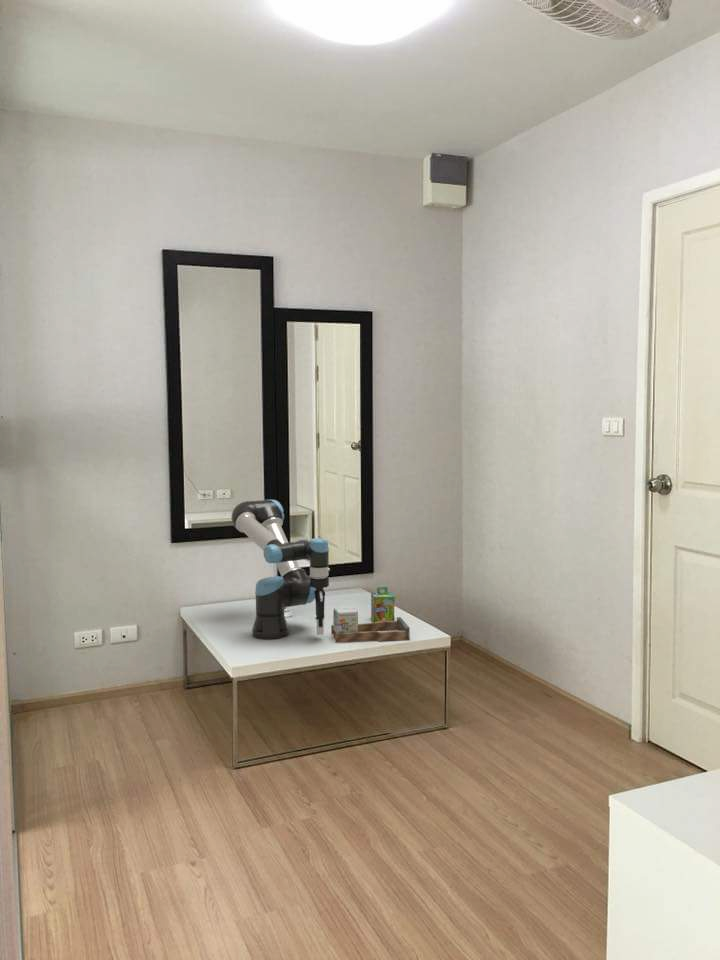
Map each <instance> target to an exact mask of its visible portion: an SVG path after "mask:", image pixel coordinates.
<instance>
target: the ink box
mask: <svg viewBox="0 0 720 960" xmlns="http://www.w3.org/2000/svg"><path fill="white" fill-rule="evenodd" d="M332 616H333V617H332V618H333V620H332V621H333V622H332V623H333V624H332V625H333V634H332V635H333V637H334V638H335V633H349V632H358V624H359V612H358V609H356V608H355V607H353V606H343V607H333V615H332Z"/></svg>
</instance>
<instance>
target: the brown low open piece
mask: <svg viewBox="0 0 720 960" xmlns="http://www.w3.org/2000/svg"><path fill="white" fill-rule="evenodd" d="M330 627H331V628H330V629H331V633H332V634H331V633H330V634H331V635H333V624H332V625H330ZM410 629H411V628H410V627H409V625H408V624H407V622H405V621H404V620H403V618H402V617H401V616H399V617H396V620H394V621H384V622H373V621H371V622H370V623H368V622H367V623H358V632H349V633H335V637H334V639H335V640H334V641H335V643H336V642H339V643H338V644H340V642H342V643H357V642H374V641H375V642H376V641H378V642H394V641H395V642H396V641H409V640H411V639H410V638H411V637H410V636H411V635H410V634H411V633H410Z"/></svg>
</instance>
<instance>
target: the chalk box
mask: <svg viewBox="0 0 720 960" xmlns="http://www.w3.org/2000/svg"><path fill="white" fill-rule="evenodd" d="M381 590H384V592H381ZM370 596H371V597H370V598H371V599H370V600H371V601H370V603H371V604H370V612H371V613H370V618H371V620H372V622H384V621H395V596H394V595H393V594H392V593H391V592H389V591H388V586H378V587H376V592H371V594H370Z"/></svg>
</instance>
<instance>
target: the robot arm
mask: <svg viewBox="0 0 720 960" xmlns="http://www.w3.org/2000/svg"><path fill="white" fill-rule="evenodd" d="M284 519H285V514H284V508H283V505H282V504H281V502H279V501H278V500H276V499H264V500H248V501H243V502H240V503H238V504H237V505H236V506H235V507H234V508H233V510H232V512H231V523H232V525H233V526H234V528H235V529H236V530H238V531H239V532H240V533H244V534H245V535H246V536H247V537H248V539H251V541H253V542H254V544H256V545H257V546H258V547H259V548H260V549H261V550H262V551H263V558H264V560H265V562H266V563H268V564H276V567H277V569H278V572H279V574H280V576H279V575H278V576H277V575H275V576H267V577H263V578H261V579H259V580H258V581H257V582H256V584H255V591H254V593H255V619H254V622H253V623H254V624H253V626H252V631H251V633H252V634H251V636H252V637H253V638H257V639H262V640H275V639H282V638H286V637H287V636H288V635H289V634H290V629H289V624H288V623H287V619H286V617H285V608H291V607H297V606H305V605H307V604H311V603H313V602H314V601H315V615H316V616H315V620H316V635H317V636H319V635H321V636H322V635H325V630H324V629H325V627H324V625H325V621H324V620H325V601H326V600H325V599H326V598H325V597H326V591H325V590H324V588H328V587H329V586H330V585H329V583H330V579H329V572H330V571H331V568H329V563H330V562H329V558H330V557H329V552H330V551H329V550H330V549H329V541H328V539H327V538H325V537H324V538H322V537H316V538H311V539H310V540H308V539H298V540H296V541H294V542H293V541H291V542H289V541H288V538H287V537H286V536H287V535H286V534H285V532H284V529H283V528H282V526H283V523H284ZM302 560H303V561H304V560H307V561H309V575H308V574H307V572H306V570H305V569H303V568H301V567H300V565H299V564H298V561H302Z"/></svg>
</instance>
